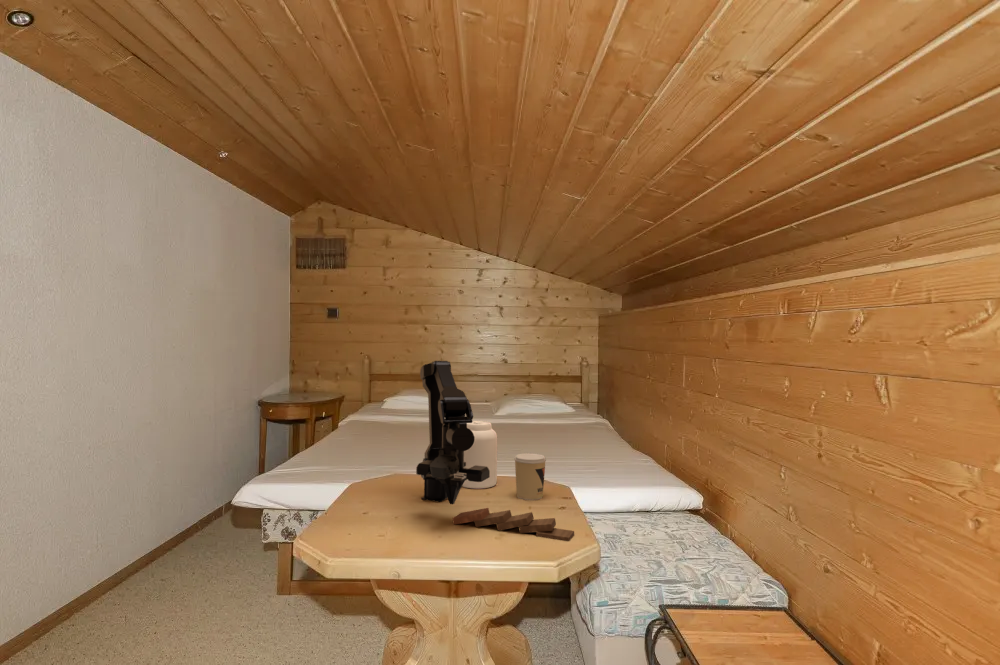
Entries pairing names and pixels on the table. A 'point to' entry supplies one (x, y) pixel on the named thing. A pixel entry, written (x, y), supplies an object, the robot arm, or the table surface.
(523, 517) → the domino
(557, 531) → the domino
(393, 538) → the table surface
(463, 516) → the domino
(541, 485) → the coffee cup
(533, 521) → the domino
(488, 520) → the domino
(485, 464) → the white lidded jar
